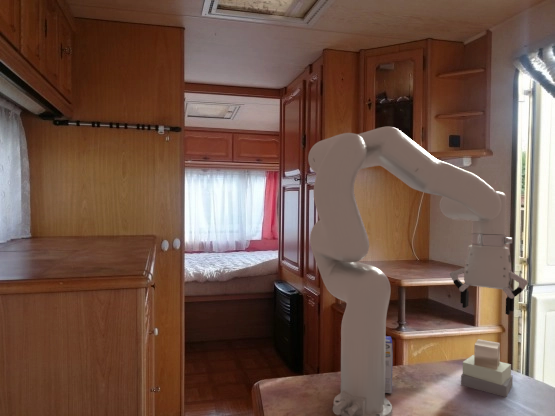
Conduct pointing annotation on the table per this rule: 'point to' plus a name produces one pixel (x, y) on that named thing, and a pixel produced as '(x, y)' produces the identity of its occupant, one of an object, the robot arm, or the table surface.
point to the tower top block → (487, 371)
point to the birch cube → (487, 354)
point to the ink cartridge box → (388, 365)
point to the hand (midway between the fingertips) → (486, 310)
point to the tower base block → (487, 385)
